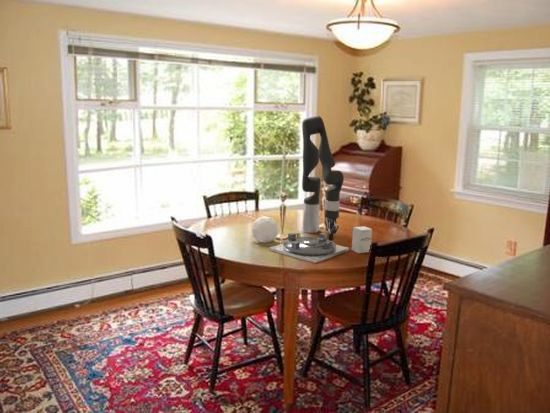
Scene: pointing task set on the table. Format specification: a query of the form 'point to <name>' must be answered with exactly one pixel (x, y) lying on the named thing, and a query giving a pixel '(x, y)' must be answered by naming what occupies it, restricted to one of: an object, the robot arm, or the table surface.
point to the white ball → (265, 229)
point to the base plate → (309, 258)
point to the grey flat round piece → (309, 245)
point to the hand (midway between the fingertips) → (330, 240)
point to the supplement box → (361, 239)
